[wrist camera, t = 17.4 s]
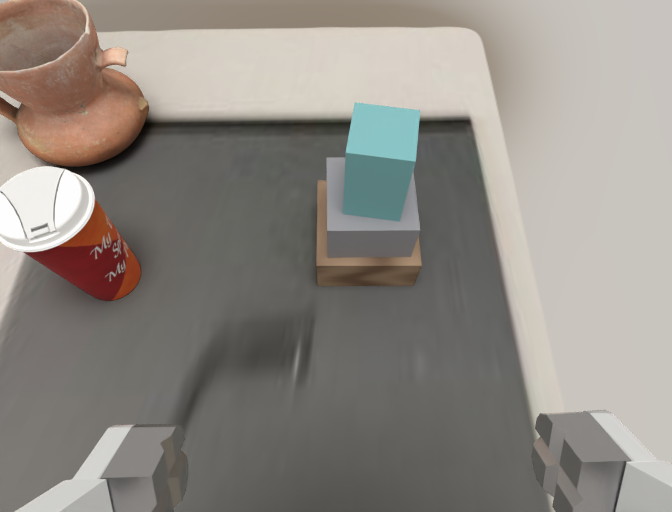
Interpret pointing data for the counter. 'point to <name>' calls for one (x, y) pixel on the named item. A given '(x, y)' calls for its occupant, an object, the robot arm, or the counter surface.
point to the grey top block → (367, 223)
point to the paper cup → (67, 231)
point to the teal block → (379, 160)
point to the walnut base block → (360, 260)
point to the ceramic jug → (65, 84)
